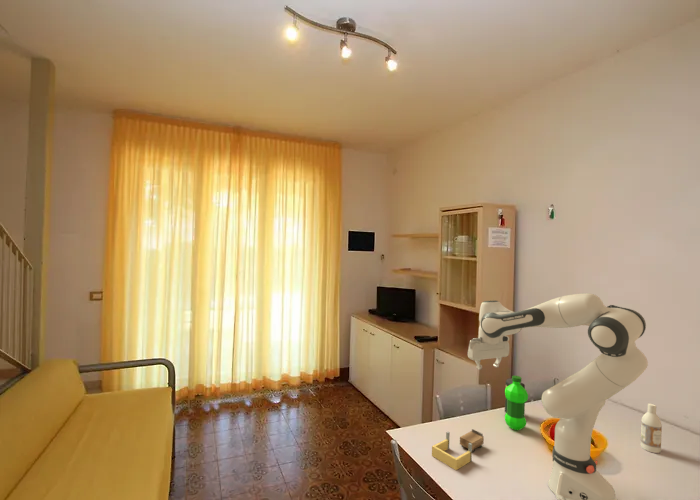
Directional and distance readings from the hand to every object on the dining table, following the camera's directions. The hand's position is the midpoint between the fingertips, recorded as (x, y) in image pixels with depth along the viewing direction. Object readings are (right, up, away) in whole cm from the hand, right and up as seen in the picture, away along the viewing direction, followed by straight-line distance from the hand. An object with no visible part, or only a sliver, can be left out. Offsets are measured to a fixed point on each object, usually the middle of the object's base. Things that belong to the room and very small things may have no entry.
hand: (487, 368), depth 155 cm
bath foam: (+74, -38, +3) cm, 83 cm away
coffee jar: (+27, -36, +32) cm, 55 cm away
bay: (-18, -35, -8) cm, 40 cm away
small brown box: (-7, -35, +1) cm, 36 cm away
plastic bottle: (+21, -36, +19) cm, 45 cm away
